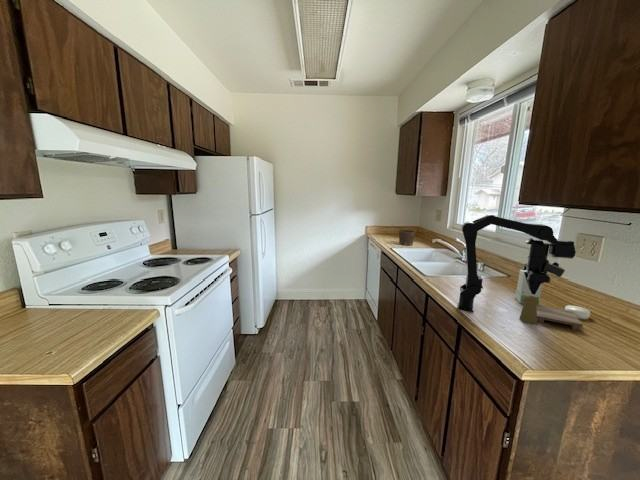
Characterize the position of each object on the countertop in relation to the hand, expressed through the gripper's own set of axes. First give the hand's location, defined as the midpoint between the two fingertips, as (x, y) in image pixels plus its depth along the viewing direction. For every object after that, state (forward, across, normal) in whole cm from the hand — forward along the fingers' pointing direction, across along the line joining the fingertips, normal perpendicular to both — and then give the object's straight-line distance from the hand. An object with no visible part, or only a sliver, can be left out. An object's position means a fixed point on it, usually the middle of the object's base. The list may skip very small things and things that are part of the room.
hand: (532, 292), depth 109 cm
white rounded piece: (+13, +19, -20) cm, 30 cm away
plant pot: (+13, +131, +80) cm, 154 cm away
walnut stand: (+13, +7, -10) cm, 18 cm away
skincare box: (+13, +25, -3) cm, 28 cm away
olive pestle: (+13, 0, 0) cm, 13 cm away
